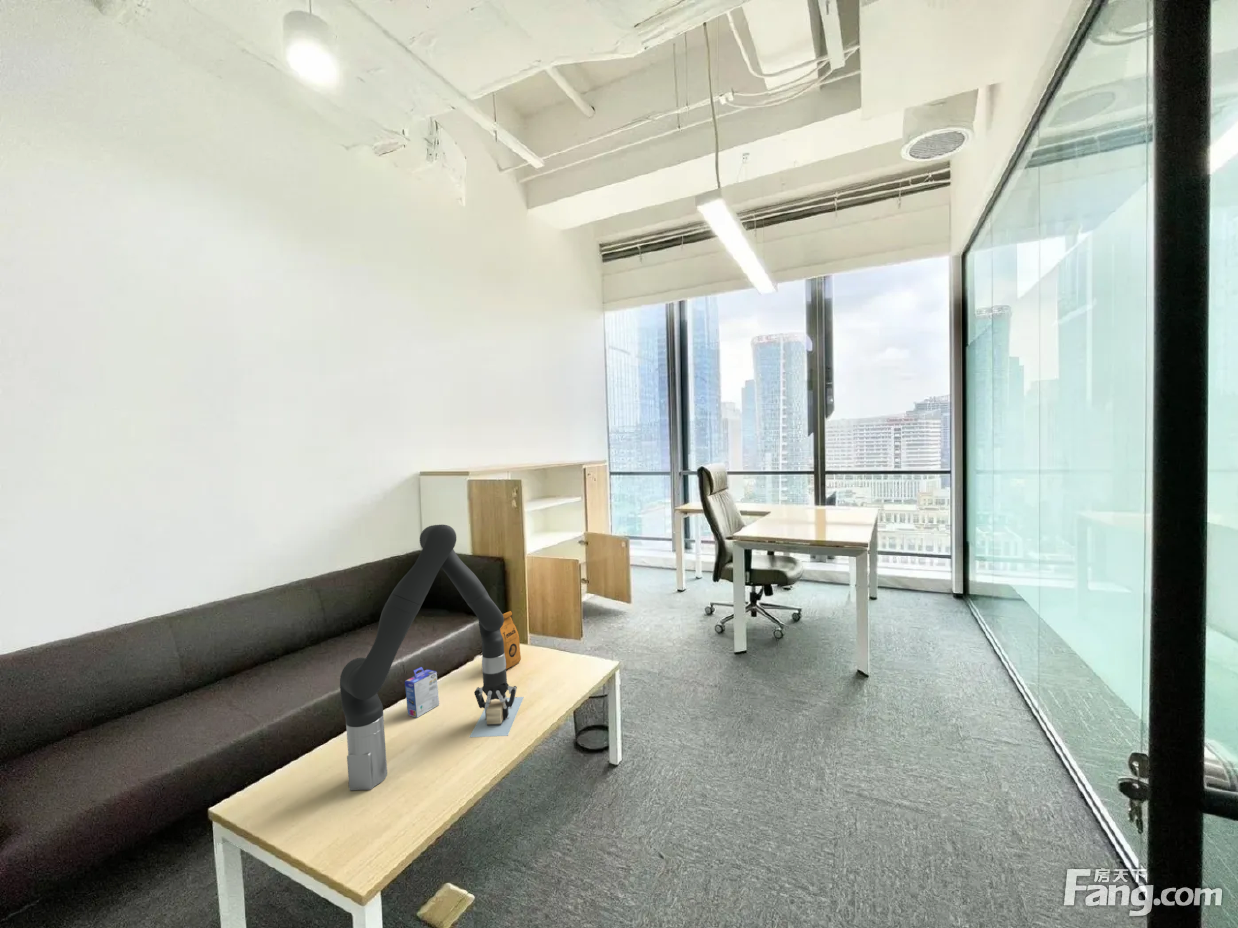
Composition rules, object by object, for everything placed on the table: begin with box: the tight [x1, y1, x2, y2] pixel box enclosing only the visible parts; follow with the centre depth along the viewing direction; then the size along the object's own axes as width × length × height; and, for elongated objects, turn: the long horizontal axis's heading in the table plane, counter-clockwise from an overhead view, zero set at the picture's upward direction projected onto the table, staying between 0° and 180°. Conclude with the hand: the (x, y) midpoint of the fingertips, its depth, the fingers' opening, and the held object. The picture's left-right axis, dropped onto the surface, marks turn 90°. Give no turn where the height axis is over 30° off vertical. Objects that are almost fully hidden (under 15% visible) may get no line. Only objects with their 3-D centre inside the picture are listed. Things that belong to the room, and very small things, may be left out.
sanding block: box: [486, 699, 503, 726], centre depth 164 cm, size 8×4×5 cm, turn 178°
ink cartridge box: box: [404, 666, 440, 719], centre depth 175 cm, size 10×6×14 cm, turn 151°
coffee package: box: [500, 610, 522, 670], centre depth 208 cm, size 10×12×22 cm
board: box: [469, 696, 524, 738], centre depth 166 cm, size 24×12×2 cm, turn 179°
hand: (497, 718), depth 164 cm, fingers closed on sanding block, 4 cm apart
